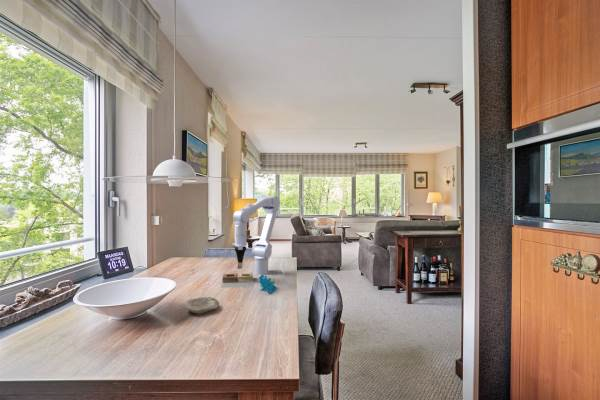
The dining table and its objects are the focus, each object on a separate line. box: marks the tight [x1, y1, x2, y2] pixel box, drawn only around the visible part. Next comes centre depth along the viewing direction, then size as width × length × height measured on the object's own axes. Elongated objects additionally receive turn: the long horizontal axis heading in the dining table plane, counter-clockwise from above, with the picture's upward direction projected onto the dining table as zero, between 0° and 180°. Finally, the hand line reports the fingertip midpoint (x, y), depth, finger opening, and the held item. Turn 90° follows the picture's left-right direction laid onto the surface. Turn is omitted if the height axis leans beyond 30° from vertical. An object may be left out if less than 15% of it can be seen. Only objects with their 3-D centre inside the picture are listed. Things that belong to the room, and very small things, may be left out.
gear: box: [258, 274, 277, 295], centre depth 134 cm, size 11×6×10 cm
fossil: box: [185, 296, 220, 315], centre depth 112 cm, size 11×12×3 cm
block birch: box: [238, 272, 254, 282], centre depth 150 cm, size 7×7×2 cm
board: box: [221, 276, 255, 288], centre depth 147 cm, size 16×15×1 cm
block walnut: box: [222, 273, 239, 283], centre depth 149 cm, size 7×7×2 cm
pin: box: [237, 261, 244, 270], centre depth 149 cm, size 2×2×8 cm
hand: (240, 261), depth 149 cm, fingers closed on pin, 2 cm apart
